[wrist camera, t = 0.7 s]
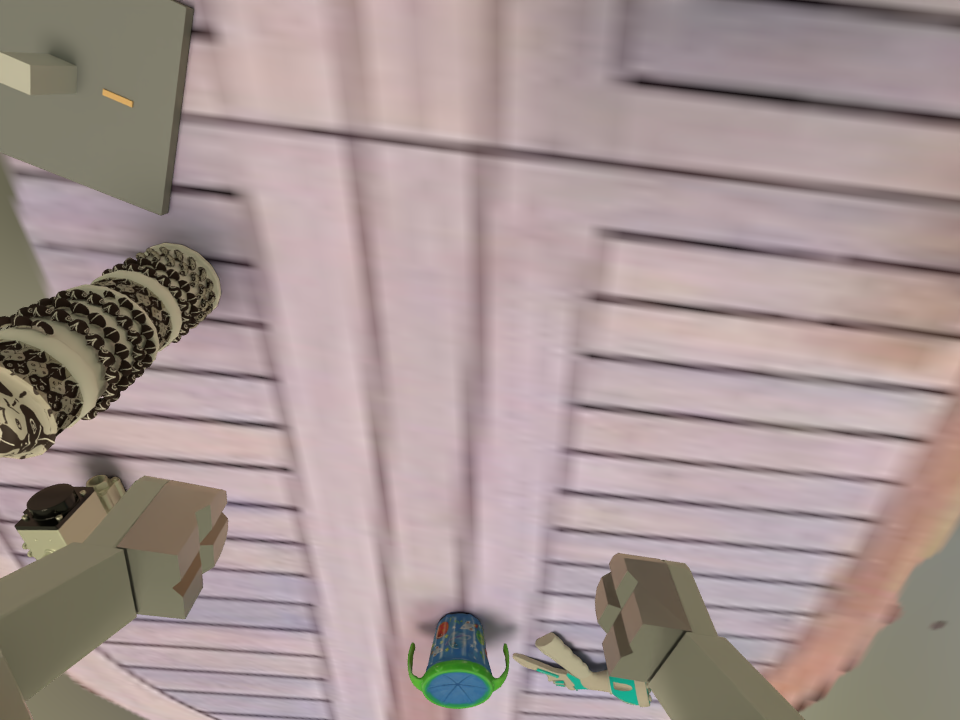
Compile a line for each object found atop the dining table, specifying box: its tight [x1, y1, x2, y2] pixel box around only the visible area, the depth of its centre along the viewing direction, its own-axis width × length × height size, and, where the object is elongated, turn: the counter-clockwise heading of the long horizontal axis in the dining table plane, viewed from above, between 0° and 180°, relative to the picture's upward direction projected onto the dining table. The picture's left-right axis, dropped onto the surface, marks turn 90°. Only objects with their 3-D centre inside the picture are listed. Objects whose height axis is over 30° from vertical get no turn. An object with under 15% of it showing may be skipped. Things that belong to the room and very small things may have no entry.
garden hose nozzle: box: [513, 632, 652, 707], centre depth 85 cm, size 7×18×20 cm
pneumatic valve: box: [15, 475, 126, 560], centre depth 62 cm, size 6×12×12 cm, turn 0°
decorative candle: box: [0, 243, 221, 459], centre depth 42 cm, size 9×9×25 cm
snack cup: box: [408, 613, 509, 709], centre depth 78 cm, size 16×10×10 cm
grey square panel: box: [0, 0, 194, 216], centre depth 41 cm, size 18×18×6 cm
